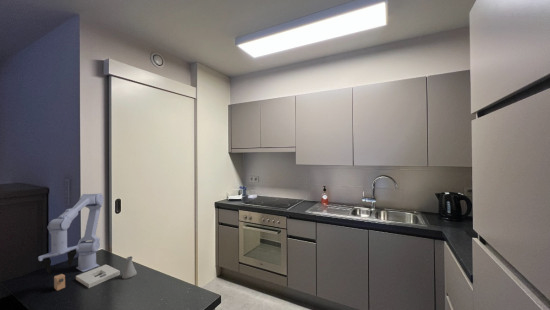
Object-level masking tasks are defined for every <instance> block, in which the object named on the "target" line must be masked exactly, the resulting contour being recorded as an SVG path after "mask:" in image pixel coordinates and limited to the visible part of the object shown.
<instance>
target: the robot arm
mask: <svg viewBox="0 0 550 310" xmlns="http://www.w3.org/2000/svg"><path fill="white" fill-rule="evenodd" d="M103 203H104V196H103V194H102V193H98V192H97V193H83V194H82V195H81V196H80V197H79V198H78V201H77V202H76V204H75V205H74V206H73V207H72V208H67V209H65V211H64V212H62V214H60V215H59V216H58V217H57V218H53V219H52V220H50V221H49V223H48V225H47V230H48V231H49V234H50V237H51V244H50V245H51V248H50V249H51V251H50V252H48V253H45V254H42V255H39V256H38V257H37V260H38V261H39V262H42V264H43V265H44V267H45V269H46V273H47V274H51V273H52V268H51V266H52V265H51V264H52V259H51V258H55V257H58V256H60V255H65V254H67V266H68V267H71V266H72V264H73V261H74V258H75V256H76V255H77V254H78V260H77V261H78V263H77V266H76V269H77V270H78V271H80V272H82V273H85V272H88V271H90V270H93V269H95V268H98V267H100V264H98V263H97V251H98V250H99V249H100V246H101V243H100V239H101V238H100V237H98V236H96V235H97V234H96V233H97V228H98V224H99V223H98V222H99V219H100V214H101V208H102V207H103V205H104V204H103ZM84 208H88V210H89V211H88V216H87V221H86V226H85V229H84V235H83V237H82V238H80V239H79V240H78V243H77V244H76V245H74V246H69V247H68V229H69V228H70V226H71V224H72V222H73V221H74V219H76V217H77V216H78V215H79V211H81V210H82V209H84Z"/></svg>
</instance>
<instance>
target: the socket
mask: <svg viewBox="0 0 550 310" xmlns="http://www.w3.org/2000/svg"><path fill="white" fill-rule="evenodd" d="M119 275H121V271H120V270H119V269H117V268H115V267H112V266H110V265H108V264H103V265H101V266H98V267H95V268H92V269H90V270H87V271H84V272H82V273H80V274H77V275H75V280H76V281H77V282H79V283H81V284H82V285H83V286H85V287H86V288H88V289H90V288H92V287H95V286H97V285H99V284H101V283H104V282H106V281H108V280H111V279H113V278H115V277H118V276H119Z"/></svg>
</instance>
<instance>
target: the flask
mask: <svg viewBox="0 0 550 310" xmlns="http://www.w3.org/2000/svg"><path fill="white" fill-rule="evenodd" d="M125 260H126V262H125V267H124V270H123V271H122V275H121V279H124V280H127V279H131V278H134V277H135V276H137V275H138V273H137V270H136V268H135V264H134V263H133V256H127V257H125Z"/></svg>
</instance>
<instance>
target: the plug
mask: <svg viewBox="0 0 550 310" xmlns="http://www.w3.org/2000/svg"><path fill="white" fill-rule="evenodd" d="M53 288H54V289H55V291H60V290H62V289H65V288H66V275H65V274H63V273H60V274H57V275H54V277H53Z"/></svg>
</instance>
